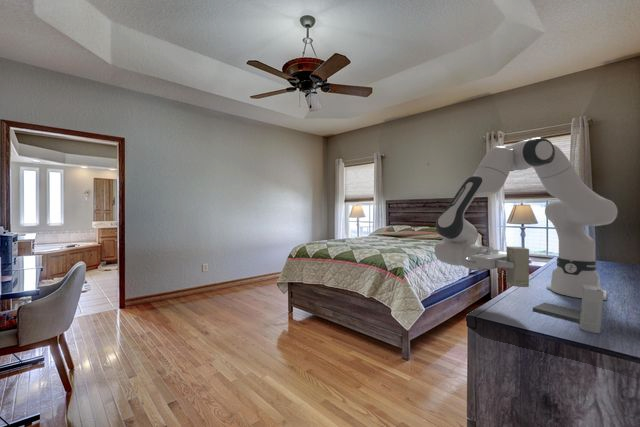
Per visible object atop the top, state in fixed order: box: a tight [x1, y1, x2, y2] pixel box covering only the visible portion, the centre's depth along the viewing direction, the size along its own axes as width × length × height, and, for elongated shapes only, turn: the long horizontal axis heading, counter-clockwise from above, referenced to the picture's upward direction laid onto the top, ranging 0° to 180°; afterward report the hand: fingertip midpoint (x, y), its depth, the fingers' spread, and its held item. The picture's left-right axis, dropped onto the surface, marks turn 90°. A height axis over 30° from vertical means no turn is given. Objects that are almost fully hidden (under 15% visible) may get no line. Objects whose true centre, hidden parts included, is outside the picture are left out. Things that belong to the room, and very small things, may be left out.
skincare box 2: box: [579, 285, 604, 334], centre depth 84 cm, size 6×4×12 cm
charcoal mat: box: [532, 302, 581, 324], centre depth 97 cm, size 10×12×1 cm
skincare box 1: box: [505, 246, 530, 288], centre depth 96 cm, size 6×4×12 cm
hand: (520, 264), depth 95 cm, fingers closed on skincare box 1, 7 cm apart
